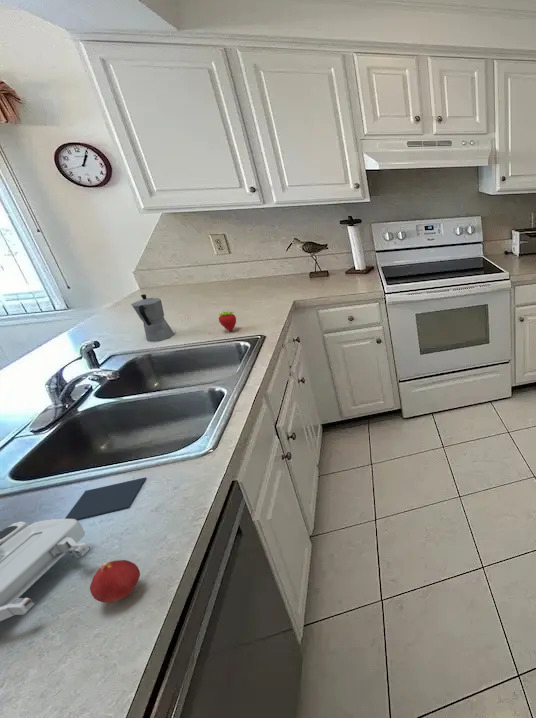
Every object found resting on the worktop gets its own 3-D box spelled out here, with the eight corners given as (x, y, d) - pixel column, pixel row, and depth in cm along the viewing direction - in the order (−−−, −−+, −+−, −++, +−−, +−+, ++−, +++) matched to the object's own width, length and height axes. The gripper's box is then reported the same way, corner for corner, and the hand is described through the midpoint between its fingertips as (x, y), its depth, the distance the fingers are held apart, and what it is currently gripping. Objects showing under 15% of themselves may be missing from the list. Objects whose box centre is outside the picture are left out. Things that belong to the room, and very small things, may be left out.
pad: (62, 523, 81) (61, 522, 81) (86, 491, 89) (85, 490, 89) (129, 508, 85) (128, 506, 84) (146, 478, 92) (146, 477, 92)
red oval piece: (93, 607, 66) (69, 574, 63) (131, 575, 71) (111, 543, 67) (118, 618, 64) (95, 585, 61) (155, 584, 69) (136, 551, 66)
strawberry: (237, 326, 173) (230, 304, 169) (241, 332, 168) (234, 309, 163) (221, 330, 169) (213, 307, 165) (224, 336, 164) (216, 312, 160)
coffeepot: (150, 333, 169) (132, 291, 161) (178, 329, 172) (161, 288, 165) (140, 348, 156) (120, 303, 148) (170, 342, 160) (152, 299, 152)
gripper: (-132, 637, 55) (-29, 634, 55) (26, 513, 73) (103, 511, 73) (-100, 663, 58) (-3, 660, 58) (44, 538, 76) (118, 536, 76)
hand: (57, 576), depth 66 cm, fingers open, 8 cm apart
